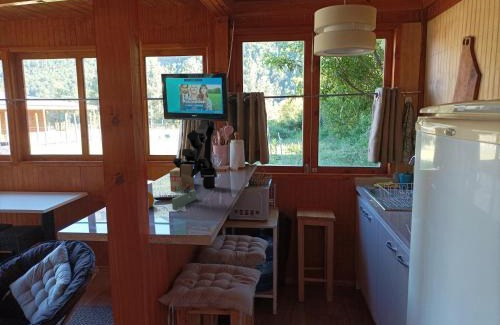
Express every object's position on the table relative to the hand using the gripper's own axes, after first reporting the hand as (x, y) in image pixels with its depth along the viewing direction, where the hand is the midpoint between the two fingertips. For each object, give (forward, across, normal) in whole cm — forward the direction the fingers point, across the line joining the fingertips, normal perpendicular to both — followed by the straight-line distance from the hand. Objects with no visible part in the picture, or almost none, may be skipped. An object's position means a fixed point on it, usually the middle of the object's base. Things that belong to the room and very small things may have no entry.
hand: (186, 177), depth 185 cm
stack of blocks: (-13, -23, +32) cm, 41 cm away
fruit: (+20, -17, -1) cm, 26 cm away
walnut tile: (+4, 0, +6) cm, 7 cm away
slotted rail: (+11, 0, +7) cm, 13 cm away
